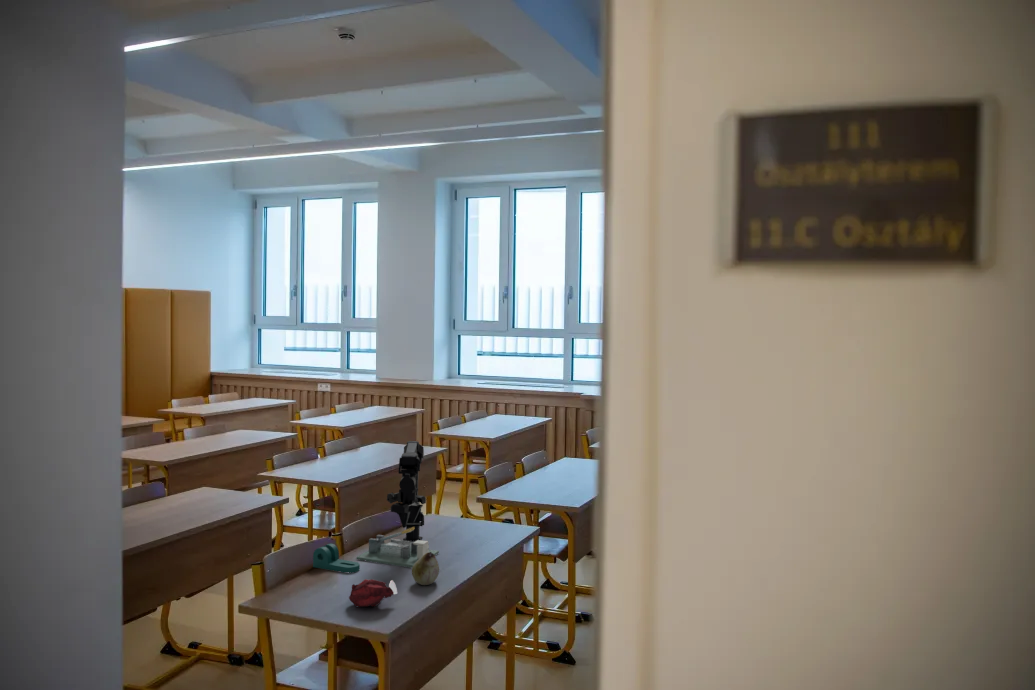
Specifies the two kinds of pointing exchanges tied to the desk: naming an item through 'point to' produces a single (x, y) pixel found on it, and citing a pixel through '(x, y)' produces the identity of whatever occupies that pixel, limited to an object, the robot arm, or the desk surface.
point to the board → (391, 558)
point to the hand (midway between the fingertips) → (408, 525)
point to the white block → (421, 548)
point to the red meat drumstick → (371, 592)
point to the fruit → (426, 569)
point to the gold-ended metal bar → (395, 534)
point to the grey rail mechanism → (393, 548)
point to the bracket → (332, 560)
